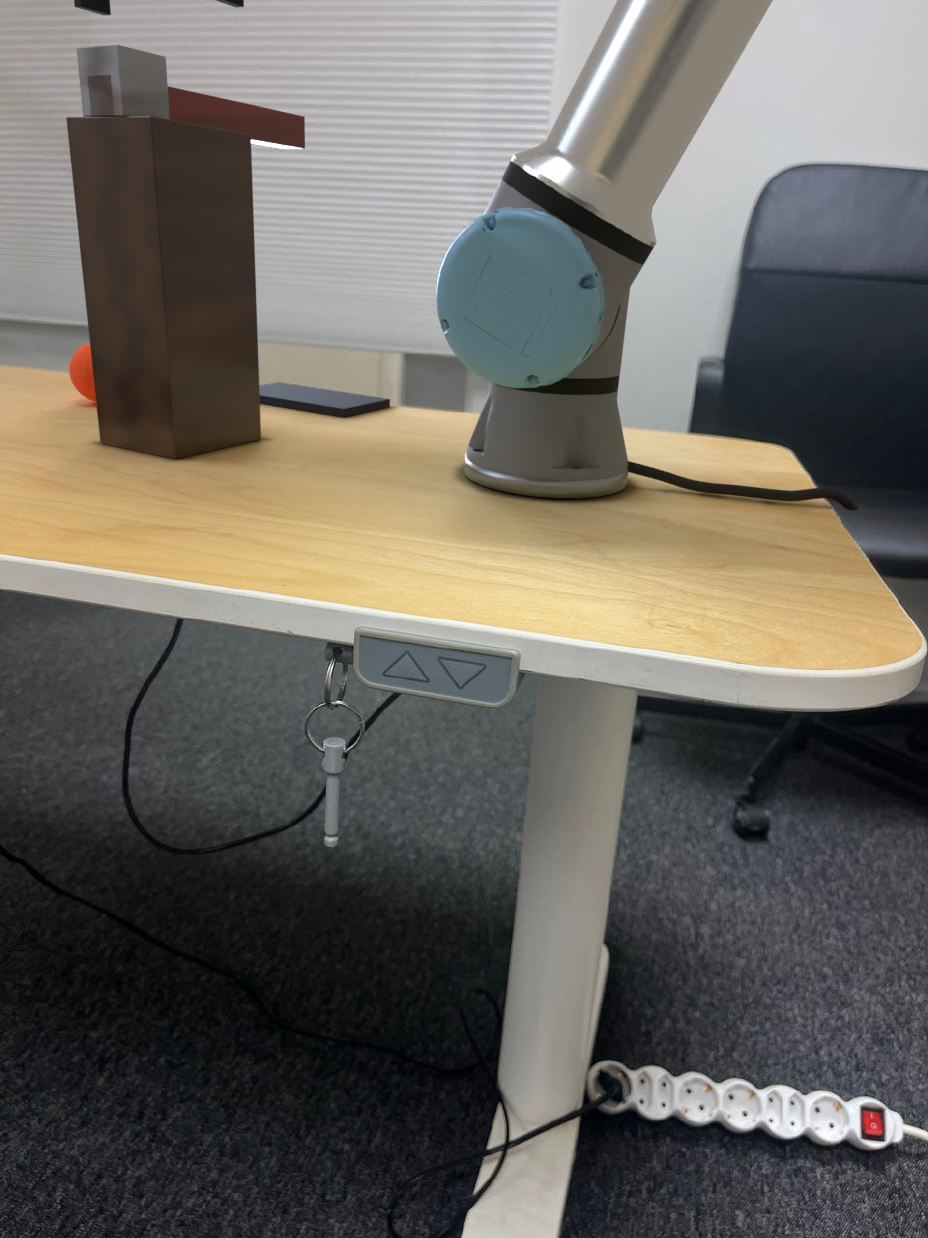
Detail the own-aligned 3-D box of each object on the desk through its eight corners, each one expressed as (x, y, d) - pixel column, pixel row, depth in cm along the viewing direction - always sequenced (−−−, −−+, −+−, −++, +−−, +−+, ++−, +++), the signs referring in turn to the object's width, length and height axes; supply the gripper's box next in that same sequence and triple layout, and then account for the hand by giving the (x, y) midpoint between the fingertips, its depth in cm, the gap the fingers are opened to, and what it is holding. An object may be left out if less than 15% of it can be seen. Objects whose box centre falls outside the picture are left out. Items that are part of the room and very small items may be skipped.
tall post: (261, 439, 92) (251, 134, 81) (175, 459, 83) (150, 115, 72) (189, 425, 97) (170, 133, 86) (100, 443, 87) (65, 116, 76)
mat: (389, 406, 114) (390, 398, 114) (344, 417, 106) (344, 408, 105) (279, 389, 122) (279, 381, 121) (228, 397, 113) (228, 389, 113)
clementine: (154, 403, 107) (149, 341, 105) (113, 411, 101) (107, 346, 99) (102, 395, 110) (96, 335, 107) (59, 403, 104) (51, 339, 101)
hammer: (312, 148, 92) (312, 93, 90) (123, 115, 73) (117, 43, 71) (276, 148, 94) (274, 94, 92) (82, 116, 75) (75, 46, 73)
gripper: (-44, -379, 59) (0, 2, 67) (240, -487, 48) (251, -17, 57) (54, -318, 65) (83, 24, 73) (326, -402, 54) (324, 11, 63)
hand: (156, 7), depth 65 cm, fingers open, 13 cm apart
